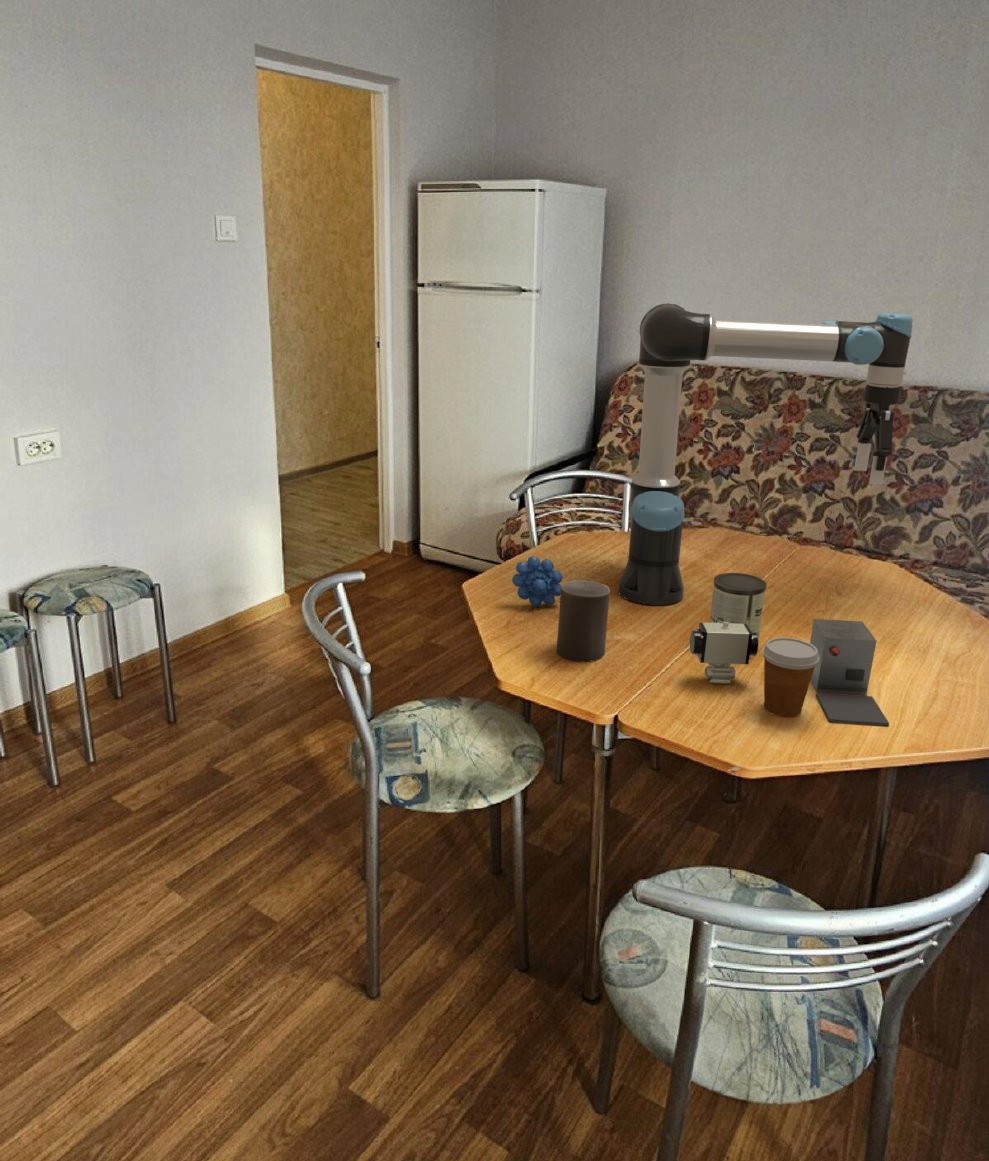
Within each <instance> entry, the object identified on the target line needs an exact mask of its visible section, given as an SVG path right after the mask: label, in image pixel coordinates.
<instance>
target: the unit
mask: <svg viewBox="0 0 989 1161" xmlns="http://www.w3.org/2000/svg"><path fill="white" fill-rule="evenodd" d="M809 643H810V644H812V645H813V646H815V647H816V648H817V651H818V655H819V658H820V659H819V662H818V663H817V665H816V666H815V668H814V671H813V674H812V678H811V681H810V684H812V687H813V689H814V690H815V692H816V693H829V694H844V695H859V696H868V695H867V694H868V688H869V684H870V683H869V682H870V678H871V674H872V673H871V672H872V669H873V668H872V667H873V663H874V657H875V651H876V645H877V639H876V638H875V636H874V635H873V633H871V631H870V629H869V628H868V626H866V624H865V623H864V622H863V621H862V620H861V621H857V620H843V619H826V618H813V622H812V627H811V633H810V641H809Z"/></svg>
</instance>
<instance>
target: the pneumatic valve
mask: <svg viewBox="0 0 989 1161" xmlns="http://www.w3.org/2000/svg"><path fill="white" fill-rule="evenodd" d="M689 650H690V653H691V654H692V655H696V656H697V658H698V660H699V663H700V664H708V665H706V666H705V667H704V677H705V679H708V680H709V682H708V683H710V684H712V685H731V683H732V681H733V680H735V679H736V669H735V667H734V666H731V665H749V664H750V663H749V662H750V660H751V659H752V658H751V657H756V656H757V654H758V652H759V641H758V636H757V634H756V633H755V632H751V630H750V629H749V627H748V626H747V624H733V623H729V622H724V623H720V622H717V623H710V622H698V627H696V630H691V631H690V635H689Z"/></svg>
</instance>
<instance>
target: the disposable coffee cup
mask: <svg viewBox="0 0 989 1161" xmlns="http://www.w3.org/2000/svg"><path fill="white" fill-rule="evenodd" d="M761 652H762V656H763V660H764V663H763V664H764V665H763V666H764V670H763V672H764V673H763V674H764V676H763V677H764V681H763V682H764V685H763V686H764V688H763V690H764V691H763V692H764V694H763V696H764V697H763V698H764V700H763V703H764V705H763V706H764V709H765V710H766V711H767V712H768V713H770V714H773V716H778V717H783V718H794V717H797V716H800V715H801V713H802V710H803V705H804V703H805V700H806V697H807V694H808V690H809V686H810V684H811V678H812V674H813V671H814V668H815V666H816V665H817V663H818V662H819V659H820V658H819V655H818V651H817V648H816V647H815V646H813V645H812V644H810V642H808V641H806V640H802V639H799V638H794V637H793V638H792V637H774V638H770V639H769V640H767V641H766V643H765V644H764V647H763V648H762V651H761Z"/></svg>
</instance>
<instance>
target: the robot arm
mask: <svg viewBox="0 0 989 1161" xmlns="http://www.w3.org/2000/svg"><path fill="white" fill-rule="evenodd" d="M913 322H914V320H913V317H912V315H910V314H905V313H894V312H889V313H888V312H883V313H882V312H881V313H878V315H877V316H876V319H875V321H872V322H871V321H870V322H863V321H861V322H860V321H848V320H847V321H845V320H826V321H825V320H824V321H823V322H821V323H805V322H803V323H801V322H781V321H759V320H758V321H757V320H736V319H716V318H715V317H714V316H713V315H712V314H710V313H700V312H699V313H698V312H692V311H689V310H686V309H685V308H684V307H682V306H680V305H679V304H676V303H669V302H667V303H661V304H657V305H655V306H653V307H652V308H651V309H649V310H648V311H647V312H646V313H645V314H644V316H643V317H642V319H641V321H640V325H639V336H640V340H639V341H640V342H639V356H638V357H639V360H638V365H639V366H640V368H641V369H642V370H643V371H644V380H643V381H644V384H643V386H644V387H643V397H642V413H641V414H642V415H641V430H640V433H641V434H640V445H639V456H638V457H639V460H638V472H637V474H636V475H634V476H633V477H632V478H631V485H630V486H631V487H630V500H629V501H628V515H629V519H630V521H629V522H630V534H629V546H628V547H629V548H628V557H627V558H628V560H627V562H626V565H625V567H624V570H623V572H622V574H621V577H620V579H619V581H618V590H617V591H618V594H619V593H620V594H619V595H620V596H621V597H622V598H623V597H625V598H627V599H629V600H631V601H630V602H632V601H633V602H632V603H636V602H640V603H644V604H643V605H646V604H650V605H649V606H667V604H669V605H673V604H672V603H674V604H676V602H677V603H678V602H681V601H682V600H683V598H684V592H685V591H684V590H685V587H684V583H683V579H682V574H681V570H680V566H679V564H680V556H681V545H682V536H683V533H682V532H683V523H684V519H685V504H684V502H683V500H682V498H680V490H681V480H680V479H679V478H678V477H677V476H676V475H675V474H676V461H677V449H678V435H679V434H678V433H679V424H680V423H679V422H680V409H681V408H680V407H681V398H682V388H683V387H682V384H683V374H684V372H686V371H687V370H688V369H689V368H690V366H691V361H703V362H704V361H707V360H709V359H710V358H711V357H722V358H723V357H726V358H751V359H770V360H771V359H772V360H774V359H775V360H793V361H794V360H796V361H812V362H813V361H817V362H819V361H820V362H833V363H851V364H854V365H856V366H858V365H859V366H860V365H861V366H864V365H868V367H867V373H866V379H865V381H866V382H867V383H868V384H866V385H865V386H864V387H865V388H864V392H863V402H866V403H865V407H864V413H863V414H862V415H863V416H862V418H861V421H860V424H859V427H858V431H857V433H856V438H857V439H858V440H857V441H858V445H857V449H856V450H857V451H856V456H855V464H854V469H853V470H854V471H856V472H857V471H859V472H861V471H862V472H867V470H868V465H869V458H870V453H871V447H872V444H873V443H875V444H874V445H875V446H874V447H875V451H874V452H873V453H872V457H873V458H872V465H871V469H870V476H869V481H868V483H869V485H882V486H883V485H884V484H883V483H884V477H885V472H886V466H887V461H888V457H889V456H892V454H893V430H894V429H893V425H894V423H893V422H894V415H895V411H893V410H890V406H891V405H897V404H898V403H899V402H900V398H901V392H902V388H901V387H900V386H901V385H902V384H903V379H904V376H906V374H907V371H906V370H905V368H906V362H907V358H908V352H909V348H910V343H911V338H912V331H913V324H914V323H913ZM873 436H874V439H875V440H874V439H873ZM874 441H875V442H874ZM625 598H624V599H625ZM627 599H626V600H627ZM629 600H628V601H629ZM640 603H639V604H640Z"/></svg>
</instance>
